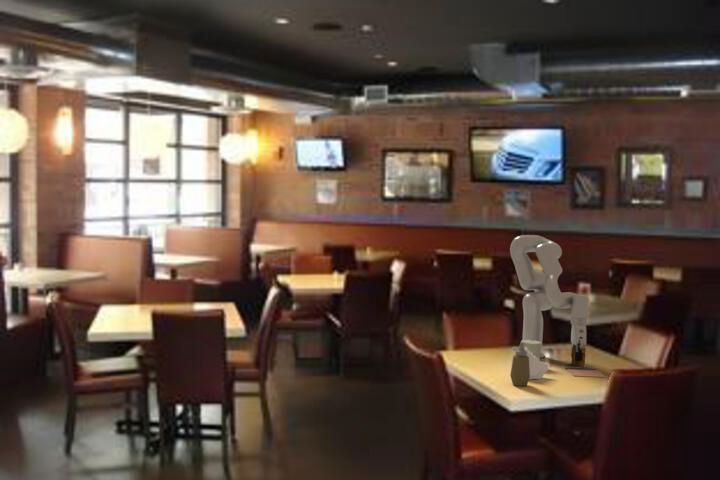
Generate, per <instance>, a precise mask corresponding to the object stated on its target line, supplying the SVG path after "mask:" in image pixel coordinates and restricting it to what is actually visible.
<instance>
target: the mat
mask: <svg viewBox="0 0 720 480" xmlns="http://www.w3.org/2000/svg"><path fill="white" fill-rule="evenodd" d="M566 371H567V372H569V373H570V374H571V375H572V377H583V378H584V377H586V378H604V377H606V376H605V375H604V374H603V373H602V372H600V371H599V370H597V369H596V370H574V369H566Z"/></svg>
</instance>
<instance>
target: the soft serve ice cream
mask: <svg viewBox="0 0 720 480" xmlns="http://www.w3.org/2000/svg"><path fill="white" fill-rule="evenodd" d="M524 350H525V351H527V355H526V356H528V357H529V368H530V379H529V381H530V380H541V379H542V378H544V376H545V374H546V372H547V371H548V369H549V364H548V363H544V362H541V359H540V360H539V359H538V358H537V357H536V356H534V355H533V353H531V352H530V351H529V350H528V348H526V347H524Z"/></svg>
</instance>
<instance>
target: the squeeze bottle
mask: <svg viewBox="0 0 720 480" xmlns="http://www.w3.org/2000/svg"><path fill="white" fill-rule="evenodd" d="M518 347H519V349H518V350H516V351H515V355H513V356H512V362H511V370H510V376H509V377H510V380H511V382H512V383H511V384H512V385H514V386H515V387H526V386H527V385H528V384H529V382H530V380H531V379H530V368H529V357H528V356H526V355H527V351H525V350H524V344H523V342H521V341H520V343H519V346H518ZM529 379H530V380H529Z"/></svg>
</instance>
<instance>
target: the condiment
mask: <svg viewBox="0 0 720 480" xmlns="http://www.w3.org/2000/svg"><path fill="white" fill-rule="evenodd" d="M578 345H580V344H578ZM578 348H579V347H578ZM586 349H587V347H586V346H584V347H583V358H582V361H576V360H575V354H576V345H574V344H573V347H572V346H571V352H572V357H571V363H567V364H566V363H565V364H564V366H566V367H569V368H589V366H588V365H585V364H586V352H587V351H586Z"/></svg>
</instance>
